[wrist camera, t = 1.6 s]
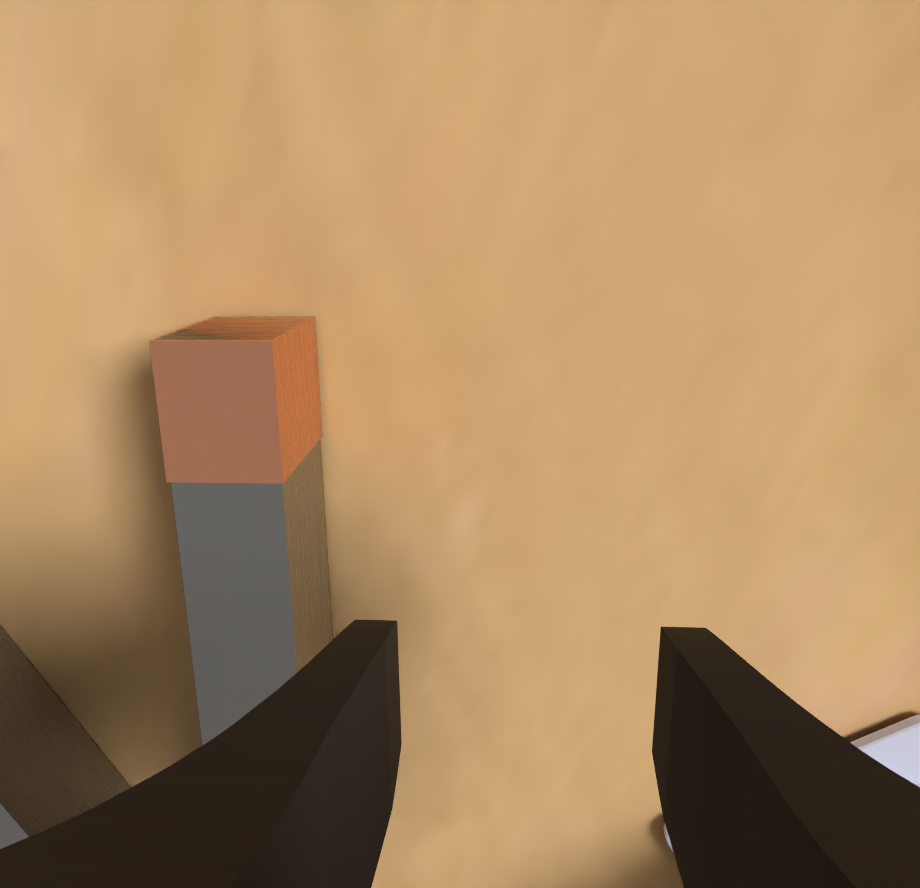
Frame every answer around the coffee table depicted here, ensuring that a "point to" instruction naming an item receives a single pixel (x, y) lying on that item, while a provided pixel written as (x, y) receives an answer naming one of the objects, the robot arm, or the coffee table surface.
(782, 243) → the coffee table surface
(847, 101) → the coffee table surface
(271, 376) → the bar
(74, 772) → the tongs fixed arm
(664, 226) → the coffee table surface
